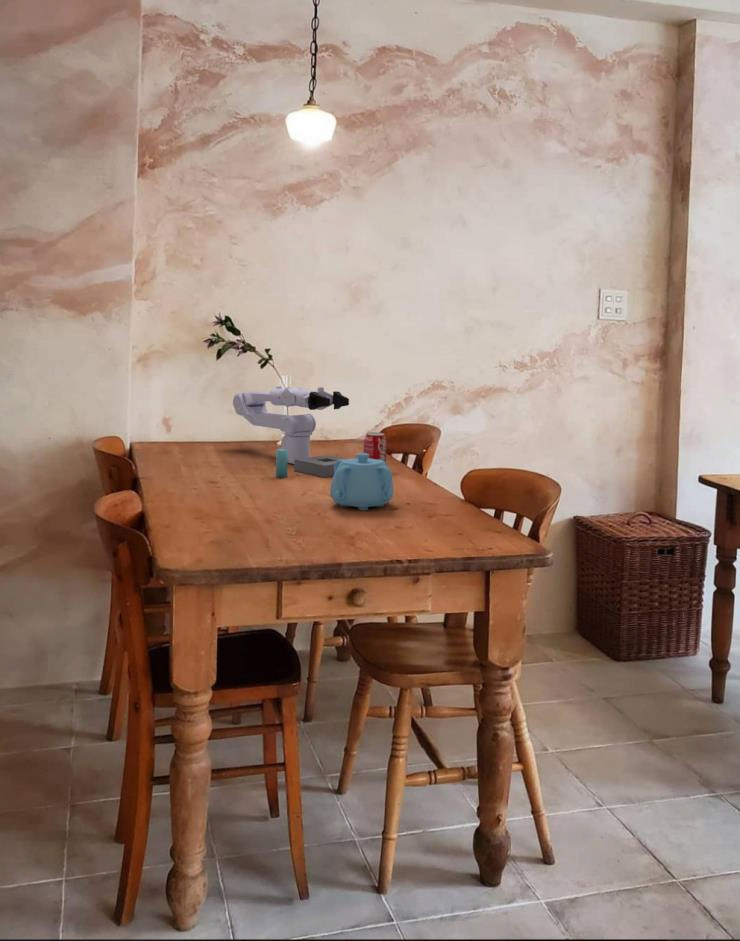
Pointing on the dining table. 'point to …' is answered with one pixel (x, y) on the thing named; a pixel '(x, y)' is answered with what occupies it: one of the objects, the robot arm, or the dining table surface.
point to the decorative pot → (362, 482)
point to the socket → (317, 465)
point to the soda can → (375, 445)
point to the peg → (281, 462)
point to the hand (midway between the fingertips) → (338, 402)
